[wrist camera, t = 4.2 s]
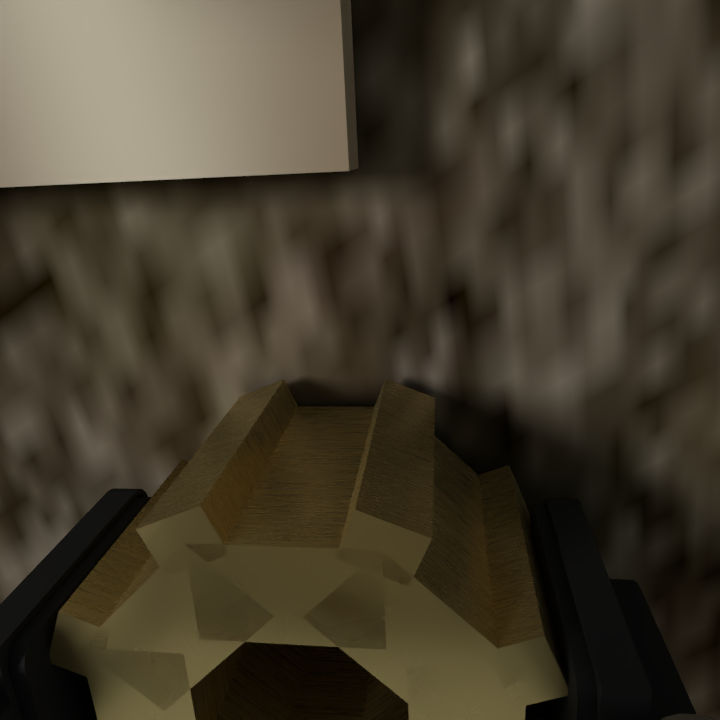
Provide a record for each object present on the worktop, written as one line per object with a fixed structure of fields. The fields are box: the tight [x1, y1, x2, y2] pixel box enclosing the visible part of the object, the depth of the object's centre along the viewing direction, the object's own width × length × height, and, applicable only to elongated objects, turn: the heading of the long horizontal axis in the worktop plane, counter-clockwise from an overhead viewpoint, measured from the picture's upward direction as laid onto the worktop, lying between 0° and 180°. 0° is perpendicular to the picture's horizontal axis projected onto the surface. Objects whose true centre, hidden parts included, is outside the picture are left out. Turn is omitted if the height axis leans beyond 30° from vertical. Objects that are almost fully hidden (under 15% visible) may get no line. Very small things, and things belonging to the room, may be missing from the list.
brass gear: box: [49, 379, 568, 720], centre depth 10 cm, size 7×7×4 cm
